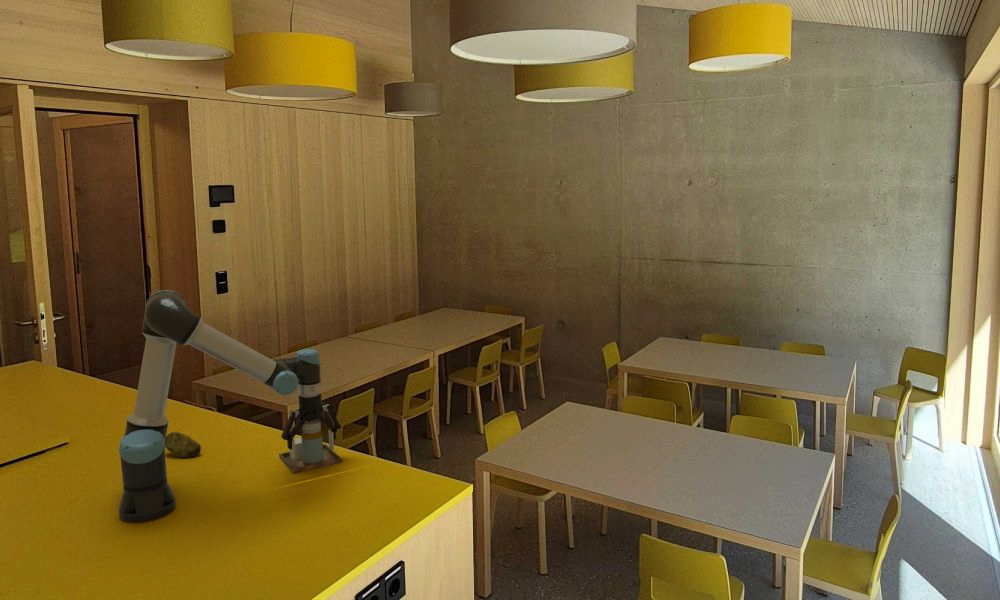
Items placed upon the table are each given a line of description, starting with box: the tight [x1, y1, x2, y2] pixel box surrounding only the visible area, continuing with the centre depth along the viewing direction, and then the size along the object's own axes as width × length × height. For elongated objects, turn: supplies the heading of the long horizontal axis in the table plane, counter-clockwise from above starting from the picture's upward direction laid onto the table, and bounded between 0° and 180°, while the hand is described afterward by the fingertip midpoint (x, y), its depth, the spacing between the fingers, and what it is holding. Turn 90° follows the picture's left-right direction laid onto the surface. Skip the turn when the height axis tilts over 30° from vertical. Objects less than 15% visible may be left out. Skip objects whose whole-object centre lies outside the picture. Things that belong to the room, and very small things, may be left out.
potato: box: [165, 431, 202, 458], centre depth 247 cm, size 8×13×8 cm, turn 60°
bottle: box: [301, 418, 324, 466], centre depth 238 cm, size 7×7×15 cm
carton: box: [288, 437, 303, 461], centre depth 246 cm, size 10×5×6 cm, turn 124°
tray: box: [278, 443, 343, 475], centre depth 242 cm, size 17×16×2 cm
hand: (312, 453), depth 239 cm, fingers open, 13 cm apart
